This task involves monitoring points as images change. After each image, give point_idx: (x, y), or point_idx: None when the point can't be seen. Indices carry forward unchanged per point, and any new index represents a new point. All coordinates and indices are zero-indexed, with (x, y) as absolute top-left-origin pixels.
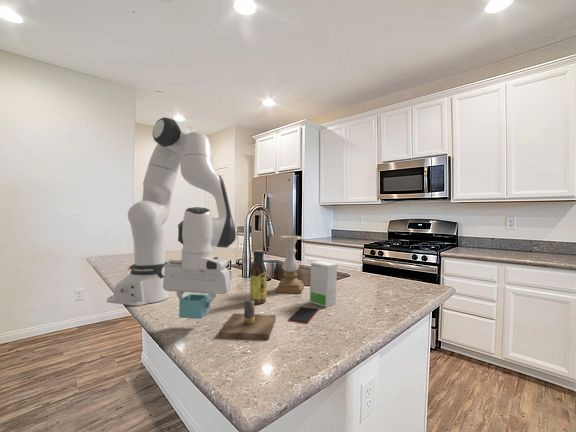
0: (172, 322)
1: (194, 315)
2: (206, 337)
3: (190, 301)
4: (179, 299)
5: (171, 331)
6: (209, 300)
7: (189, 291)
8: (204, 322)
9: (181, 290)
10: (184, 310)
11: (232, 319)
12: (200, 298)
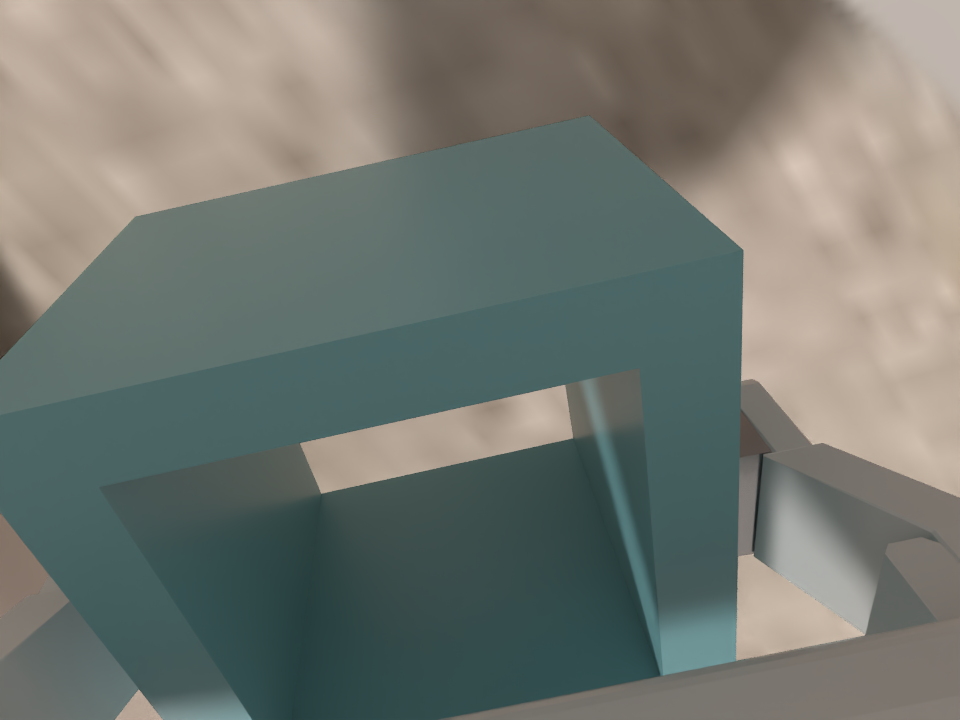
0: (787, 308)
1: (266, 207)
2: (11, 44)
3: (337, 329)
4: (844, 457)
5: (658, 66)
6: (30, 633)
7: (613, 709)
8: (404, 429)
9: (956, 661)
10: (501, 183)
11: (5, 540)
12: (423, 667)
